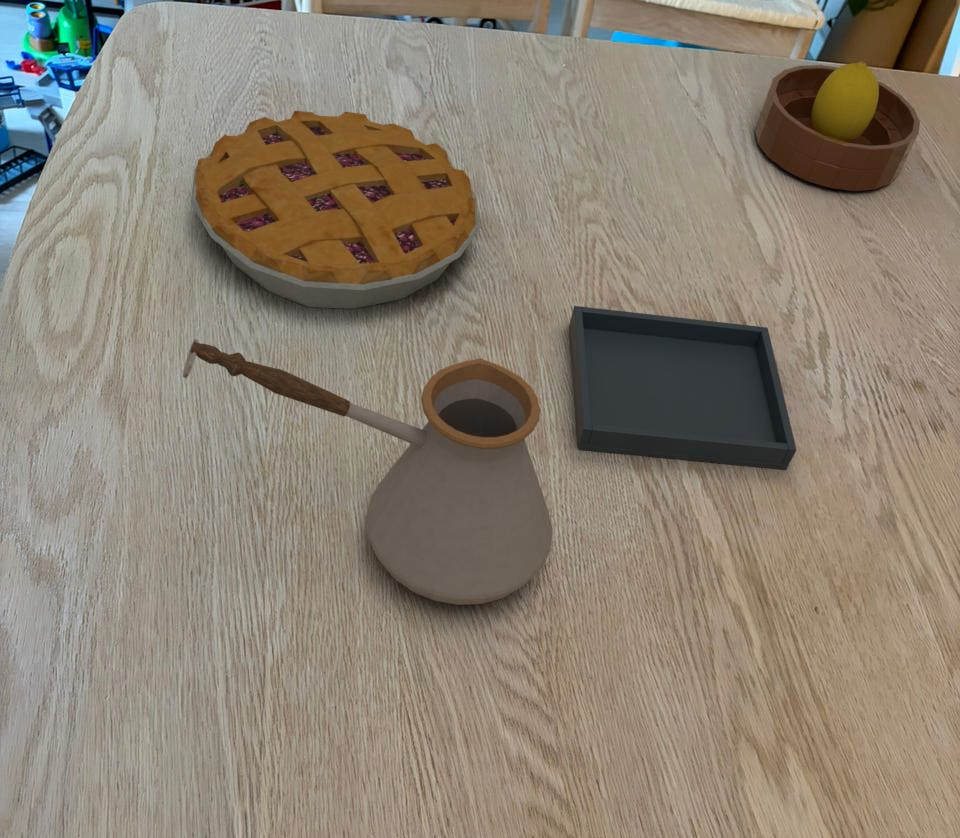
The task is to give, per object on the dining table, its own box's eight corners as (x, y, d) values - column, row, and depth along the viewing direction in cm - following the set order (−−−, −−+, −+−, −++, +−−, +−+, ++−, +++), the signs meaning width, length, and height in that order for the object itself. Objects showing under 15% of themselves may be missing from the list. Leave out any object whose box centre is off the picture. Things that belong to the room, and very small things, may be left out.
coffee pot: (540, 494, 71) (587, 310, 59) (548, 633, 65) (603, 459, 53) (216, 466, 69) (196, 270, 57) (190, 609, 62) (161, 421, 50)
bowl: (880, 120, 107) (900, 76, 103) (913, 203, 99) (936, 157, 95) (744, 102, 105) (759, 56, 102) (766, 184, 97) (783, 137, 94)
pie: (527, 271, 85) (538, 216, 81) (289, 358, 76) (288, 300, 72) (375, 131, 94) (378, 75, 90) (144, 194, 84) (136, 133, 80)
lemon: (794, 152, 100) (828, 66, 94) (804, 124, 104) (837, 40, 97) (851, 170, 100) (889, 85, 93) (859, 142, 103) (896, 58, 97)
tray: (759, 347, 83) (767, 327, 82) (786, 470, 76) (797, 450, 74) (568, 326, 82) (574, 305, 80) (577, 449, 74) (583, 428, 73)
